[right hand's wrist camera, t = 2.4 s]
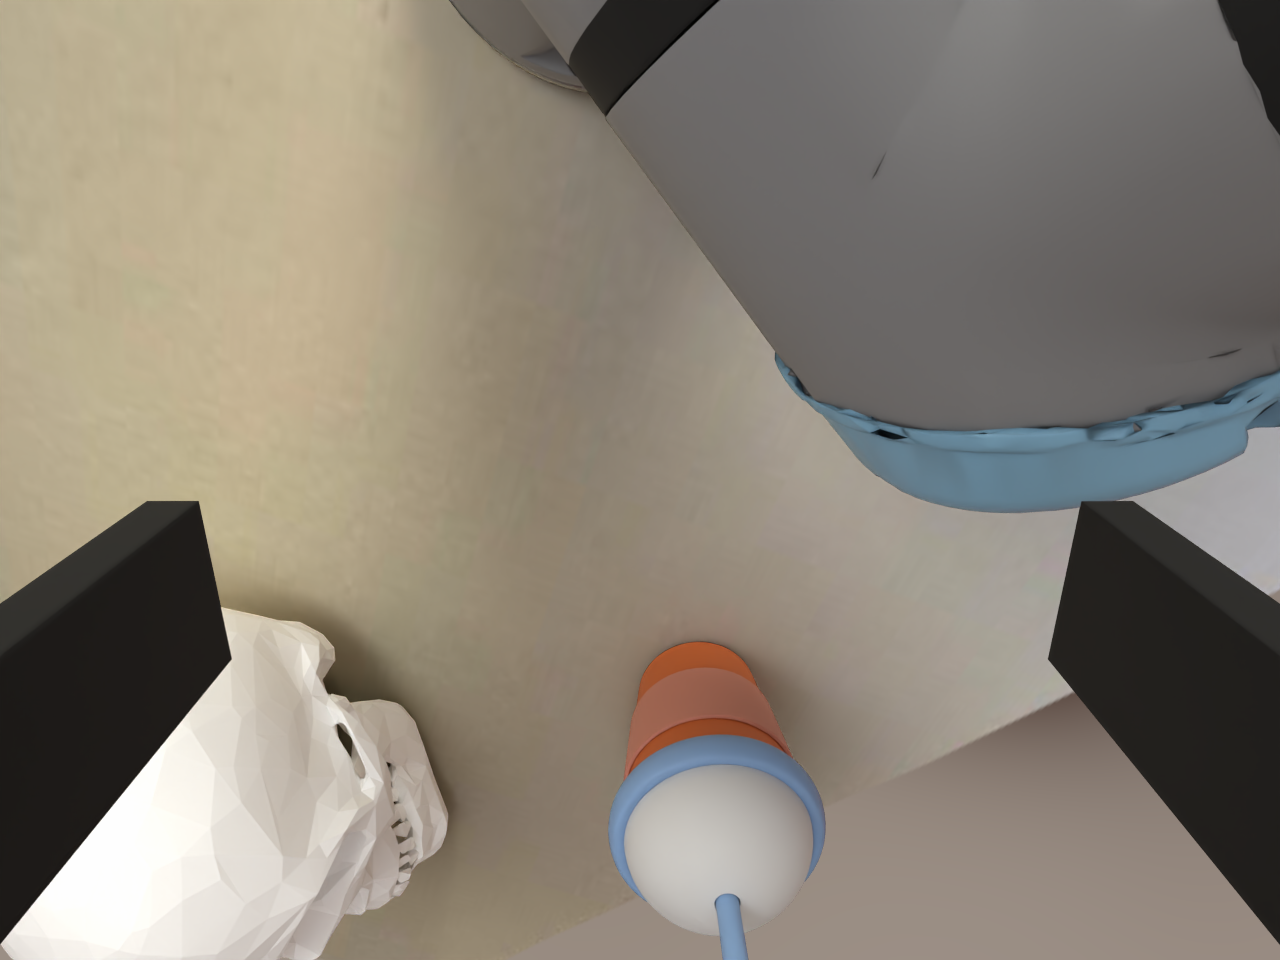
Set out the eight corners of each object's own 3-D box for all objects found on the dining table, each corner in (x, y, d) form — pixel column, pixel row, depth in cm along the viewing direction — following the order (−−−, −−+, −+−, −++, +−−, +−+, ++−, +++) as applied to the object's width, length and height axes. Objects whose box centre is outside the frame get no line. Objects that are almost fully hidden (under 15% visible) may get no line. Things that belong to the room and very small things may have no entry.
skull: (378, 888, 48) (277, 1200, 33) (38, 667, 43) (-267, 922, 28) (530, 746, 46) (495, 1016, 31) (188, 490, 40) (-61, 666, 25)
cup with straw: (706, 786, 46) (754, 1138, 29) (576, 702, 44) (549, 1030, 27) (816, 677, 44) (938, 992, 27) (685, 582, 42) (729, 861, 25)
